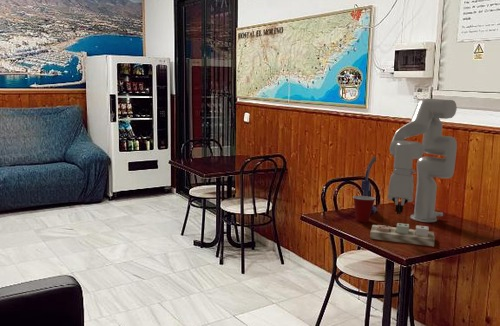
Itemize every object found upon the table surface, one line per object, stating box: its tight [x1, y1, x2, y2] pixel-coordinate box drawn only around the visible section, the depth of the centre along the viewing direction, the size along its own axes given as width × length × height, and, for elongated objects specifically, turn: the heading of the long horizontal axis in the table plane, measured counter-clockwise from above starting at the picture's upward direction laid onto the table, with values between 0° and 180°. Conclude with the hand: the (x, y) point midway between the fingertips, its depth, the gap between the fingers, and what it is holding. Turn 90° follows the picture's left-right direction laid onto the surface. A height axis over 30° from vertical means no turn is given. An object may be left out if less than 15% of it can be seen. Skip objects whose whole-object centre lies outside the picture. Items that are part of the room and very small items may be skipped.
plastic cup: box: [352, 195, 376, 223], centre depth 245 cm, size 11×11×12 cm
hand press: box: [360, 156, 378, 214], centre depth 264 cm, size 19×9×28 cm, turn 154°
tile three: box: [377, 224, 391, 232], centre depth 221 cm, size 5×5×4 cm
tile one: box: [415, 225, 430, 237], centre depth 216 cm, size 5×5×4 cm
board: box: [369, 224, 436, 247], centre depth 219 cm, size 26×12×3 cm, turn 72°
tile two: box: [396, 222, 410, 234], centre depth 219 cm, size 5×5×4 cm
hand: (398, 213), depth 218 cm, fingers closed
